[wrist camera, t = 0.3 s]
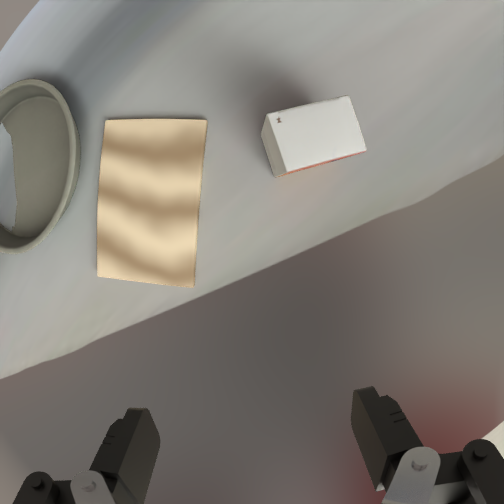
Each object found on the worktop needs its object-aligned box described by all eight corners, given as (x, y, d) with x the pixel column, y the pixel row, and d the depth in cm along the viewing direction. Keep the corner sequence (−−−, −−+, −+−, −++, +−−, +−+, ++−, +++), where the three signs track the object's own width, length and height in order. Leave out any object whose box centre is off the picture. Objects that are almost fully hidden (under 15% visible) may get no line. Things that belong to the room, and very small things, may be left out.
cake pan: (30, 62, 31) (14, 54, 26) (125, 139, 34) (111, 134, 30) (-35, 188, 34) (-52, 190, 30) (40, 281, 38) (23, 290, 34)
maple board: (108, 121, 33) (105, 120, 32) (207, 121, 34) (206, 120, 33) (100, 274, 38) (97, 276, 37) (194, 285, 38) (193, 287, 37)
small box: (273, 178, 36) (284, 174, 25) (259, 133, 34) (264, 113, 24) (336, 160, 35) (369, 152, 25) (322, 117, 34) (349, 93, 24)
